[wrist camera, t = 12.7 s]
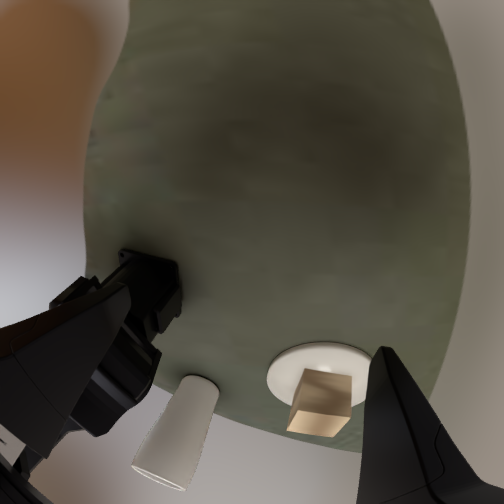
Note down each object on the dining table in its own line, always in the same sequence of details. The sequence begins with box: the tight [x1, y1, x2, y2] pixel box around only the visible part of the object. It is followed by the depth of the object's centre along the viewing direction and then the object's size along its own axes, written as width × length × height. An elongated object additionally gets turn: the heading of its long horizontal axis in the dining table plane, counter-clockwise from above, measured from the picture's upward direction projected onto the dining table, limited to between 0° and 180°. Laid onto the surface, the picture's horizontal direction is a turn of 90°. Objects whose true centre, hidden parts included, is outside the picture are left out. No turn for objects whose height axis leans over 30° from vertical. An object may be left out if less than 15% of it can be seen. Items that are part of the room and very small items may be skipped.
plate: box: [267, 342, 372, 407], centre depth 26 cm, size 12×12×1 cm
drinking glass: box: [131, 375, 219, 491], centre depth 27 cm, size 7×7×15 cm
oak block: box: [287, 368, 352, 437], centre depth 24 cm, size 5×5×5 cm
